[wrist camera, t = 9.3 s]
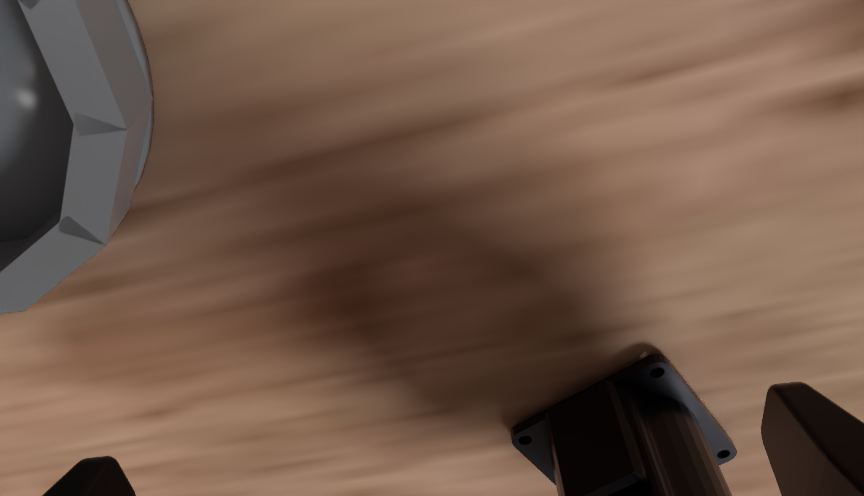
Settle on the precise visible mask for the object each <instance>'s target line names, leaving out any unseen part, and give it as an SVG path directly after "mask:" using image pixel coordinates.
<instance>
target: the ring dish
mask: <svg viewBox="0 0 864 496" xmlns="http://www.w3.org/2000/svg"><path fill="white" fill-rule="evenodd" d="M153 124H154V101H153V86H152V80H151V73H150V67H149V61H148V56H147V53H146V50H145V46H144V43H143V40H142V36H141V33H140V30H139V26H138V23H137V21H136V19H135V16H134V14H133V12H132V9H131V7H130V5H129V3H128V0H0V314H5V313H13V312H21V311H25V310H26V309H27V308H29V307H30V306H31V305H32V304H34V303H35V302H36V301H37V300H39V299H40V298H41V297H42V296H44V295H45V294H46V293H47V292H49V291H50V290H51V289H52V288H54V287H55V286H56V285H57V284H58V283H60V282H61V281H62V280H63V279H65V278H66V277H67V276H68V275H70V274H71V273H72V272H73V271H75V270H76V269H77V268H78V267H80V266H81V265H82V264H83V263H85V262H86V261H87V260H88V259H89V258H91V257H92V256H93V255H94V254H96V253H97V252H98V251H99V250H101V249H102V248H103V247H104V246H106V244H107V243H108V241H109V240H110V238H111V237H112V235H113V233H114V232H115V230H116V229H117V227H118V226H119V224H120V223H121V221H122V220H123V218H124V217H125V215H126V213H127V212H128V210H129V209H130V207H131V202H132V197H133V193H134V191H135V188H136V186H137V184H138V182H139V180H140V178H141V176H142V174H143V171H144V168H145V165H146V161H147V158H148V155H149V151H150V147H151V140H152V132H153Z"/></svg>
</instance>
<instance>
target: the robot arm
mask: <svg viewBox="0 0 864 496" xmlns="http://www.w3.org/2000/svg"><path fill="white" fill-rule="evenodd" d="M657 367H659V368H658V369H656V370H653V369H654V368H657ZM761 434H762V440H763V444H764V447H765V450H766V453H767V455H768V458H769V461H770V464H771V467H772V469H773V472H774V475H775V478H776V480H777V483H778V486H779V489H780V492H781V494H782V496H864V423H863V422H862V421H860V420H859V419H857V418H856V417H854V416H853V415H851V414H850V413H849V412H847V411H846V410H844V409H843V408H841V407H840V406H838V405H837V404H835V403H834V402H832V401H831V400H829V399H828V398H827V397H825V396H824V395H822V394H821V393H819V392H818V391H816V390H815V389H813V388H812V387H810V386H809V385H807V384H805V383H802V382H791V383H781V384H774V385H772V386H771V387H770V388H769V389H768V392H767V396H766V402H765V408H764V414H763V419H762V425H761ZM522 436H525V437H522ZM511 439H512V444H513V445H514V447H516V448H517V449H518V450H519V451H520V452H521V453H522V454H523V455H524V456H525V457H526V458H527V459H528V460H529V461H531V462H532V463H533V464H534V465H535V466H536V467H537V468H538V469H539V470H540V471H541V472H542V473H543V474H544V475H545V476H547V477H548V478H549V479H550V480H551V481H552V482H553V483H554V484H555V485H556V486H557V491H558V496H732V494H731V492H730V490H729V488H728V485H727V483H726V481H725V479H724V476H723V474H722V472H721V470H720V467H719V465H721V464H723V463H726V462H728V461H730V460H731V459H733V458H734V457H735V456H736V453H737V451H736V448H735V446H734V444H733V442H732V440H731V439H730V438H729V436H728V435H727V434H726V433H725V431H724V430H723V429H722V427H721V426H720V425H719V424H718V422H717V421H716V420H715V419H714V417H713V416H712V415H711V414H710V412H709V411H708V410H707V408H706V407H705V406H704V405H703V403H702V402H701V401H700V400H699V398H698V397H697V396H696V395H695V393H694V392H693V391H692V390H691V388H690V387H689V386H688V384H687V383H686V382H685V381H684V379H683V378H682V377H681V376H680V374H679V373H678V372H677V371H676V369H675V368H674V367H673V366H672V364H671V363H670V362H669V360H668V359H667V358H666V357H664V356H663V355H659V354H655V355H650V356H648V357H646V358H644V359H642V360H640V361H638V362H636V363H634V364H632V365H630V366H628V367H626V368H624V369H623V370H621V371H619V372H617V373H615V374H613V375H611V376H609V377H607V378H605V379H603V380H602V381H600V382H598V383H596V384H594V385H592V386H590V387H588V388H586V389H584V390H582V391H580V392H579V393H577V394H575V395H573V396H571V397H569V398H567V399H565V400H563V401H561V402H559V403H558V404H556V405H554V406H552V407H550V408H548V409H546V410H544V411H542V412H540V413H538V414H536V415H535V416H533V417H531V418H529V419H527V420H525V421H523V422H521V423H519V424H517V425H516V426H514V427H513V428H512V430H511ZM42 496H136V495H135V492H134V490H133V488H132V486H131V484H130V483H129V481H128V479H127V477H126V476H125V474H124V472H123V470H122V469H121V467H120V465H119V463H118V462H117V460H116V459H114V458H113V457H111V456H103V457H94V458H86V459H83V460H81V461H80V462H78V463H77V464H76V465H75V466H74V467H73V468H72V469H70V470H69V471H68V472H67V473H66V474H65V475H64V476H63V477H62V478H61V479H60V480H59V481H57V482H56V483H55V484H54V485H53V486H52V487H51V488H50V489H49V490H48V491H47V492H46V493H45V494H43V495H42Z"/></svg>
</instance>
